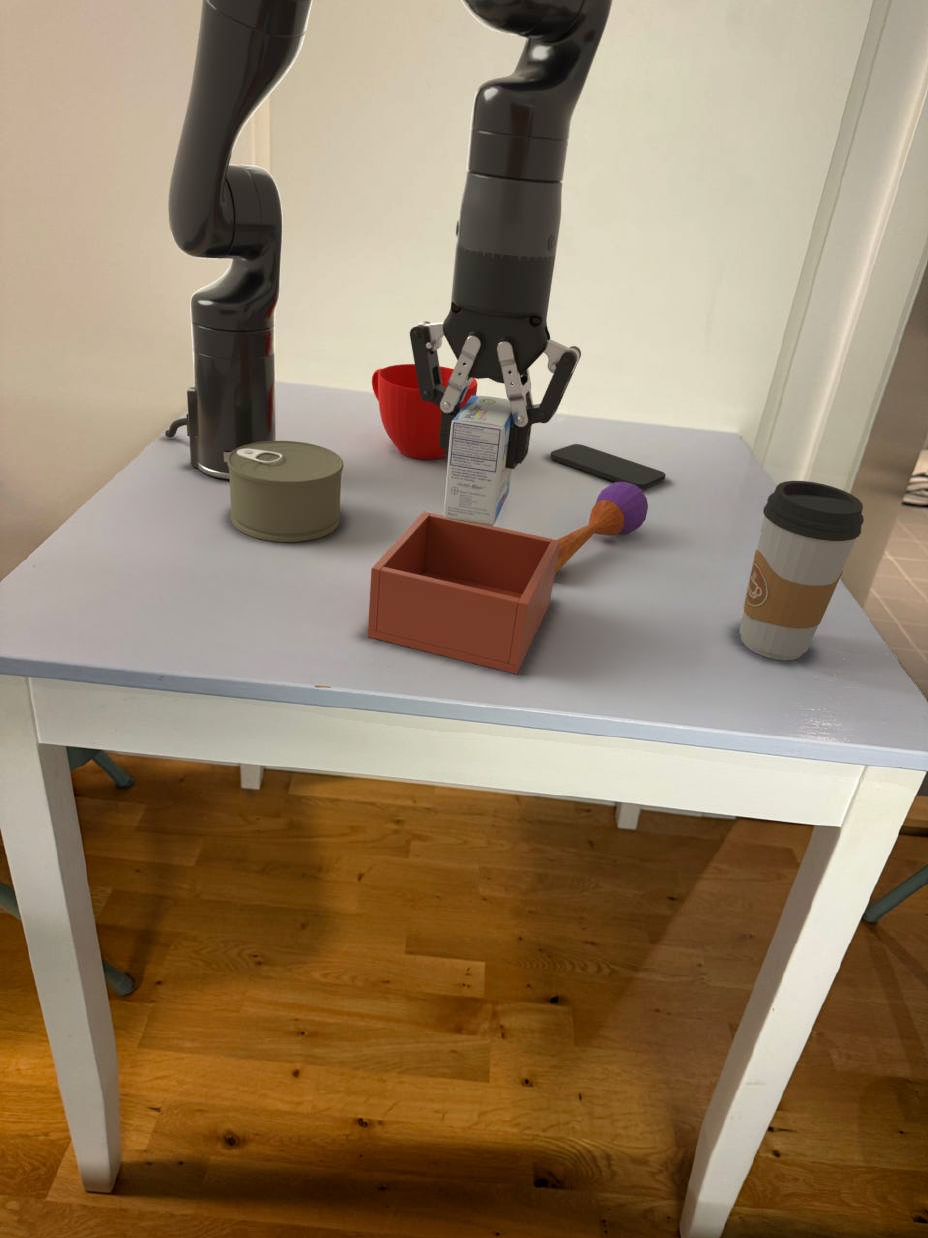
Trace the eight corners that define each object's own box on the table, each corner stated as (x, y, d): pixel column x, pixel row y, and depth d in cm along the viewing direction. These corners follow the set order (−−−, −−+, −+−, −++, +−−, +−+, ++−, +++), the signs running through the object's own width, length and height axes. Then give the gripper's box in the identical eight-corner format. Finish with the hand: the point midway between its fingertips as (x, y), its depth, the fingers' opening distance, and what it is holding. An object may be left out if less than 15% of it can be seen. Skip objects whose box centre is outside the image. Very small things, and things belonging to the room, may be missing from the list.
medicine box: (493, 528, 74) (506, 426, 70) (441, 519, 74) (451, 417, 70) (508, 494, 81) (521, 400, 76) (460, 486, 81) (470, 392, 77)
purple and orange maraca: (515, 532, 91) (610, 472, 105) (519, 585, 94) (611, 520, 108) (565, 541, 88) (657, 478, 102) (568, 595, 91) (656, 527, 104)
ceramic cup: (405, 421, 131) (410, 352, 126) (489, 456, 122) (498, 383, 117) (335, 435, 123) (338, 362, 118) (420, 475, 113) (426, 397, 108)
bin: (367, 637, 78) (371, 567, 75) (418, 573, 90) (423, 510, 87) (516, 674, 76) (527, 604, 72) (549, 603, 87) (560, 540, 84)
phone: (577, 442, 128) (669, 473, 120) (576, 448, 129) (668, 479, 121) (547, 452, 123) (641, 485, 115) (546, 458, 123) (640, 491, 116)
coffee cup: (715, 619, 88) (755, 475, 80) (795, 623, 89) (842, 481, 81) (745, 666, 81) (792, 513, 73) (832, 669, 82) (887, 519, 74)
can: (312, 552, 92) (313, 489, 88) (207, 528, 94) (204, 466, 91) (358, 511, 102) (360, 453, 98) (262, 490, 104) (261, 433, 101)
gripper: (608, 251, 69) (572, 462, 77) (432, 225, 71) (416, 432, 80) (592, 263, 62) (555, 491, 71) (399, 234, 65) (386, 457, 74)
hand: (481, 459), depth 75 cm, fingers closed on medicine box, 4 cm apart
